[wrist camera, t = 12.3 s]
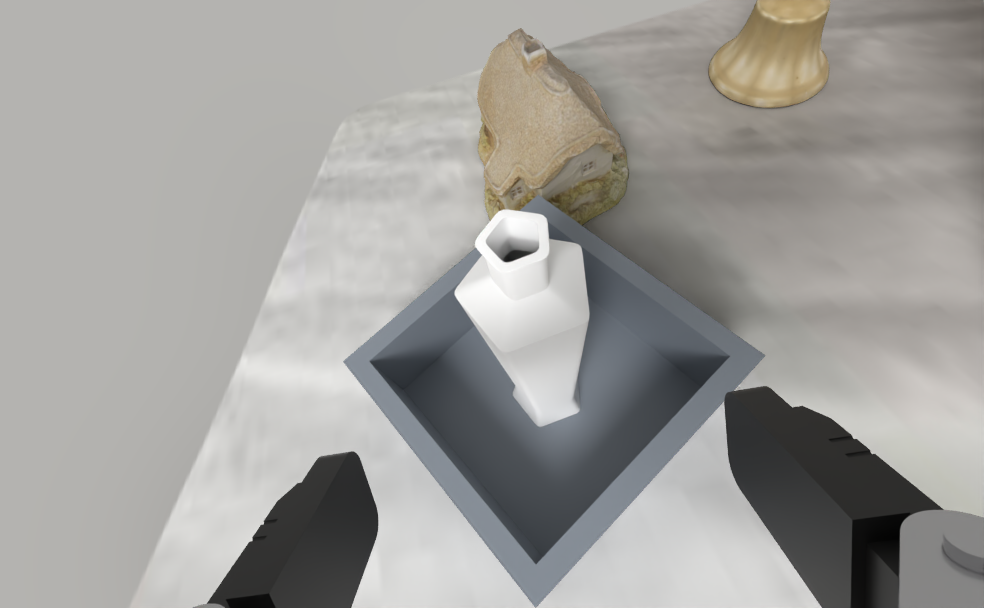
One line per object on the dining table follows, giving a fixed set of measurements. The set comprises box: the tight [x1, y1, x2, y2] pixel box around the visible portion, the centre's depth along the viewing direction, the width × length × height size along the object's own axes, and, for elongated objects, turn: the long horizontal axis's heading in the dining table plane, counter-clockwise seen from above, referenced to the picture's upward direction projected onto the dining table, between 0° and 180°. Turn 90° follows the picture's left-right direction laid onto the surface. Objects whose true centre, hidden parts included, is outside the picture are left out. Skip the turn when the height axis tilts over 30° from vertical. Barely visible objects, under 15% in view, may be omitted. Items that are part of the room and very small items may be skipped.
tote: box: [343, 195, 765, 608], centre depth 24 cm, size 14×14×6 cm
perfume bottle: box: [455, 210, 590, 427], centre depth 19 cm, size 5×4×15 cm
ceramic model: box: [477, 28, 629, 225], centre depth 31 cm, size 14×11×10 cm
